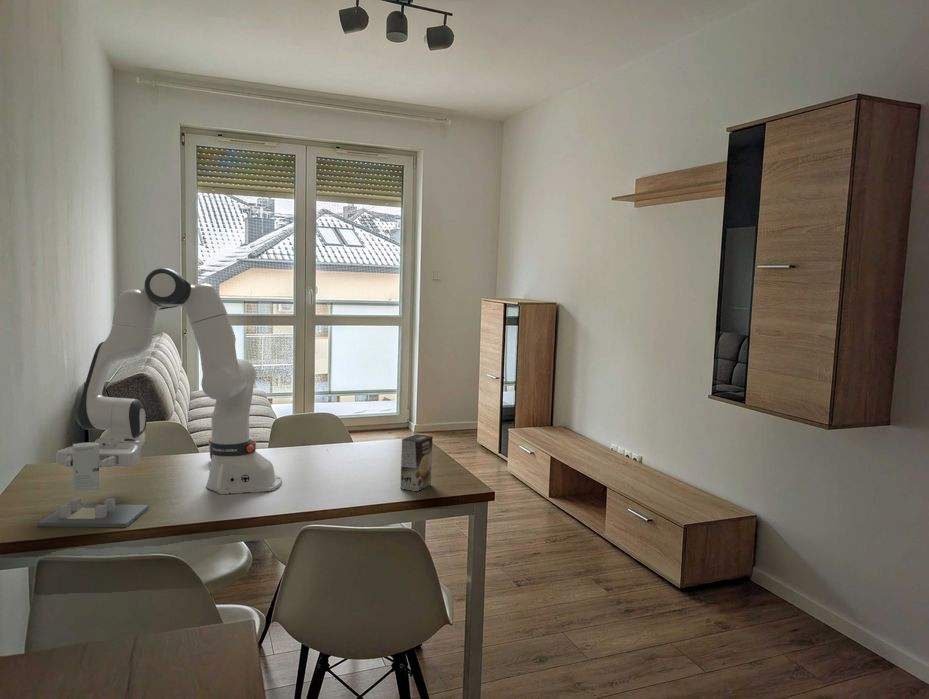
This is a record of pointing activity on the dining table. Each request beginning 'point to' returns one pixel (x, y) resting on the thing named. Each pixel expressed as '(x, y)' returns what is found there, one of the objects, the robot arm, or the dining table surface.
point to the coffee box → (416, 462)
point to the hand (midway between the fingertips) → (84, 464)
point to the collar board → (93, 514)
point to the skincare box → (85, 466)
